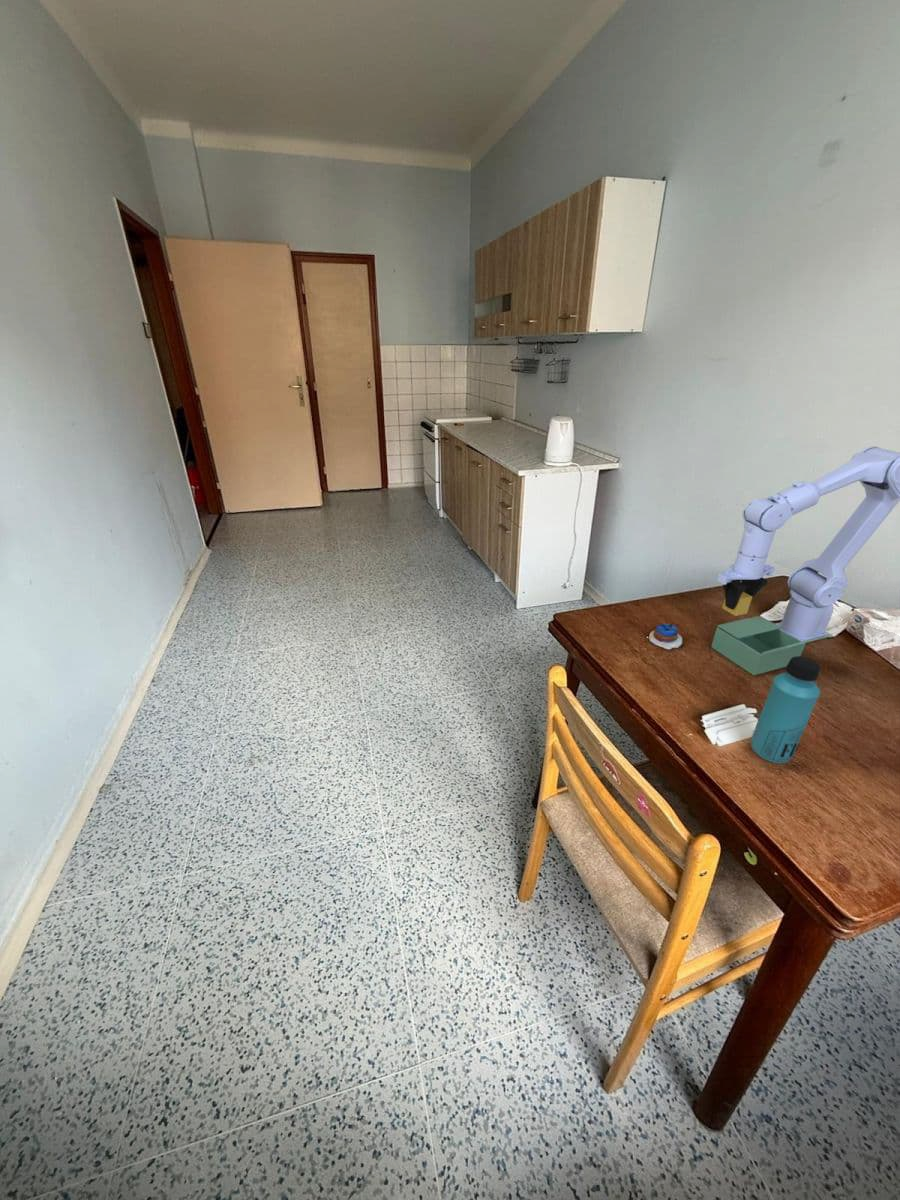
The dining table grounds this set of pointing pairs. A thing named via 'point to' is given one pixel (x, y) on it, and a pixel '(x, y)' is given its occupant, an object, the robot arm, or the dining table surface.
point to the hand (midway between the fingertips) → (736, 605)
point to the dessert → (666, 636)
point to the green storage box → (756, 644)
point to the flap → (797, 643)
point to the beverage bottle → (786, 711)
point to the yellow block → (740, 605)
